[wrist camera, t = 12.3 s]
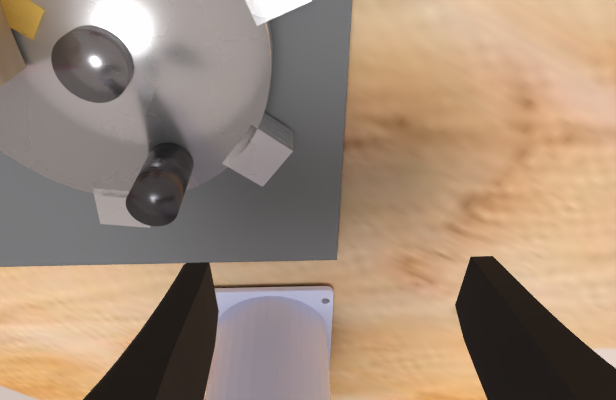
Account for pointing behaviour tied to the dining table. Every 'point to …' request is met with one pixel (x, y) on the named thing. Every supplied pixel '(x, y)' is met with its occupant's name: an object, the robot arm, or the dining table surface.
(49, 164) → the sprocket
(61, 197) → the mat
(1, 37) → the banded wooden block
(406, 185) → the dining table surface
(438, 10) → the dining table surface
